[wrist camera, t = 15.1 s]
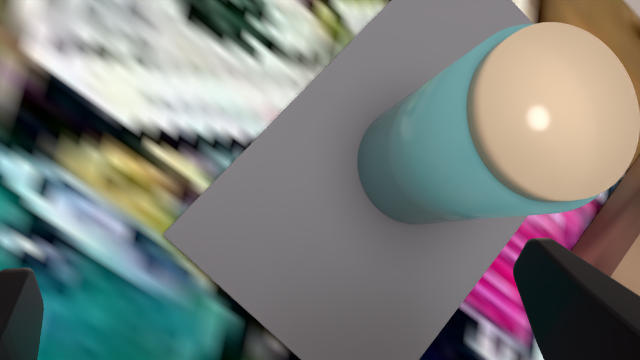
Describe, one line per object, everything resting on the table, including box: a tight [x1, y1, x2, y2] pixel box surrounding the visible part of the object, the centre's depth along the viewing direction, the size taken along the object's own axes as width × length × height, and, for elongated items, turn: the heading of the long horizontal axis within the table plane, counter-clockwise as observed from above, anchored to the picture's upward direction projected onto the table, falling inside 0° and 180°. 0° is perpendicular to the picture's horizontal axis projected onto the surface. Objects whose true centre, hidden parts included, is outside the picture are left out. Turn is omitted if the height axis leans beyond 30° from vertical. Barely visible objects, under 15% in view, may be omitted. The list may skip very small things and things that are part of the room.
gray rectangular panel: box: [163, 0, 533, 360], centre depth 24 cm, size 20×12×1 cm, turn 138°
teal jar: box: [357, 22, 640, 225], centre depth 19 cm, size 6×6×10 cm
